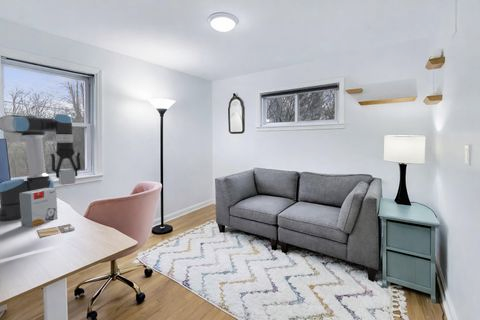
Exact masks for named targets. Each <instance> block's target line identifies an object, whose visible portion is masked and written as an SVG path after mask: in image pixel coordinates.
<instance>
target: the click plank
mask: <svg viewBox="0 0 480 320" xmlns="http://www.w3.org/2000/svg"><path fill="white" fill-rule="evenodd" d="M57 227H58V226H54V227H48V228H41V229H38V230H36V231H37V234H38V236H39V238H40V239H42V238H45V237H50V236H54V235H58V234H61V232H60V231H59V229H58V228H57Z"/></svg>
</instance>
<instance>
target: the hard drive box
mask: <svg viewBox="0 0 480 320" xmlns="http://www.w3.org/2000/svg"><path fill="white" fill-rule="evenodd" d="M19 197H20V211H21V218H20V223H21V227H27V228H34V227H36V226H38V225H42V224H46V223H48V222H51V221H55V220H58V219H59V218H58V200H57V199H58V198H57V188H55V187H54V188H43V189H38V190H33V191H27V192H22V193H19Z"/></svg>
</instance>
